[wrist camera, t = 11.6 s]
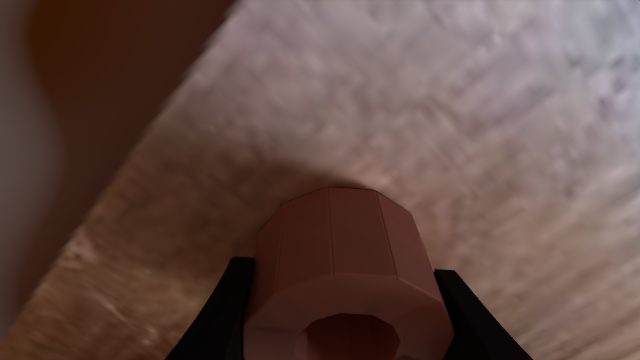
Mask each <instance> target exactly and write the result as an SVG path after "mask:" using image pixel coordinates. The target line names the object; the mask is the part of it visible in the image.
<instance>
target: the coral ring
mask: <svg viewBox="0 0 640 360" xmlns="http://www.w3.org/2000/svg"><path fill="white" fill-rule="evenodd" d="M254 258H255V263H254V269H253V275H252V281H251V287H250V292H249V297H248V301H247V305H246V309H245V315H244V321H243V358H244V360H443V359H444V357H445V355H446V353H447V351H448V349H449V347H450V345H451V343H452V341H453V339H454V336H455V331H454V328H453V325H452V322H451V320H450V317H449V314H448V311H447V308H446V306H445V303H444V300H443V297H442V295H441V292H440V289H439V286H438V284H437V281H436V278H435V275H434V272H433V270H432V267H431V264H430V261H429V259H428V256H427V253H426V250H425V248H424V245H423V242H422V240H421V237H420V234H419V232H418V229H417V227H416V224H415V222H414V219H413V217H412V214H410V212H409V211H407V210H405V209H404V208H402V207H401V206H399V205H397V204H396V203H394V202H393V201H391V200H389V199H388V198H386V197H385V196H383V195H382V194H380V193H378V192H377V191H374V190H364V189H352V188H339V187H328V188H323V189H320V190H318V191H315V192H312V193H310V194H307V195H304V196H302V197H299V198H296V199H294V200H291V201H288V202H286V203H285V204H283V205H282V206H281V207H280V208H279V209H278V211H277V212H276V213H275V214H274V215H273V217H272V218H271V219H270V220H269V221H268V222H267V224H266V225H265V226H264V227H263V228H262V230H261V231H260V232H259V234H258V238H257V244H256V250H255V256H254Z"/></svg>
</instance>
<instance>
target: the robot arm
mask: <svg viewBox="0 0 640 360" xmlns="http://www.w3.org/2000/svg"><path fill="white" fill-rule="evenodd" d="M254 263H255V258H251V257H235V256H234V257H233V258H231V259H230V261H229V263H228V266H227V268H226V270H225V272H224V274H223V275H222V277H221V279H220V281H219V283H218V284H217V286H216V288H215V289H214V291H213V293H212V294H211V296H210V297H209V299H208V301H207V302H206V304H205V305H204V307H203V308H202V310H201V311H200V313H199V314H198V316H197V317H196V319H195V320H194V321H193V323H192V324H191V326H190V327H189V328H188V330H187V331H186V332H185V334H184V335H183V336H182V338H181V339H180V341H179V342H178V343H177V344H176V346H175V347H174V348H173V350H172V351H171V352H170V353H169V355H168V356H167V357H166V358H165V359H164V360H244V358H243V321H244V315H245V309H246V305H247V301H248V297H249V292H250V287H251V281H252V275H253V269H254ZM434 275H435V278H436V281H437V284H438V286H439V289H440V292H441V295H442V297H443V300H444V303H445V306H446V308H447V311H448V314H449V317H450V320H451V322H452V325H453V328H454V331H455V336H454V339H453V341H452V343H451V345H450V347H449V349H448V351H447V353H446V355H445V357H444V359H443V360H533V359H532V358H531V357H530V356H529V355H528V354H527V353H526V352H525V351H524V350H523V349H522V348H521V347H520V345H519V344H518V343H517V342H516V341H515V340H514V339H513V338H512V337H511V336H510V335H509V334H508V332H507V331H506V330H505V329H504V328H503V327H502V326H501V325H500V324H499V322H498V321H497V320H496V319H495V318H494V317H493V316H492V314H491V313H490V312H489V311H488V310H487V309H486V307H485V306H484V305H483V304H482V303H481V301H480V300H479V299H478V298H477V297H476V295H475V294H474V293H473V292H472V291H471V289H470V288H469V287H468V286H467V285H466V283H465V282H464V281H463V280H462V279H461V277H460V276H459V275H458V274H457V273H456V272H455V271H454V270H440V269H435V271H434Z"/></svg>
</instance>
